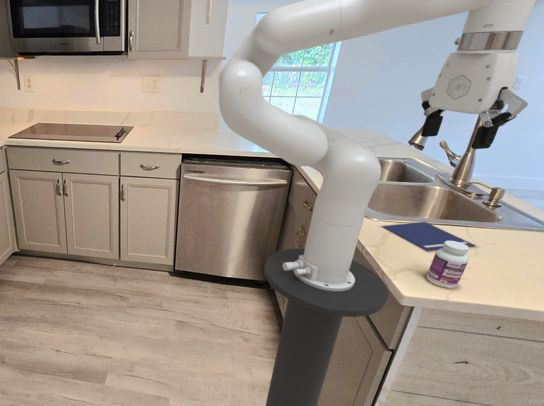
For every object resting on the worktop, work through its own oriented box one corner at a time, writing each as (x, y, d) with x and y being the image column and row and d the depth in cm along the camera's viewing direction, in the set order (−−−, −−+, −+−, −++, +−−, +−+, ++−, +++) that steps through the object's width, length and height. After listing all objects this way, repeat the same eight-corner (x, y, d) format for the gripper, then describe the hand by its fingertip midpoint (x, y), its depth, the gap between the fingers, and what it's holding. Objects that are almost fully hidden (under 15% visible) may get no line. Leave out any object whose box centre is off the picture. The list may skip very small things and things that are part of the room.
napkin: (427, 251, 94) (427, 249, 94) (382, 226, 107) (382, 225, 107) (474, 246, 96) (475, 244, 96) (424, 222, 109) (425, 221, 108)
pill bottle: (441, 289, 80) (456, 251, 76) (419, 275, 85) (433, 239, 81) (464, 288, 80) (480, 250, 76) (441, 274, 85) (456, 238, 81)
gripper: (421, 45, 70) (395, 133, 77) (528, 44, 54) (484, 155, 61) (455, 43, 71) (427, 131, 78) (571, 42, 55) (523, 152, 62)
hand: (452, 141), depth 69 cm, fingers open, 9 cm apart
